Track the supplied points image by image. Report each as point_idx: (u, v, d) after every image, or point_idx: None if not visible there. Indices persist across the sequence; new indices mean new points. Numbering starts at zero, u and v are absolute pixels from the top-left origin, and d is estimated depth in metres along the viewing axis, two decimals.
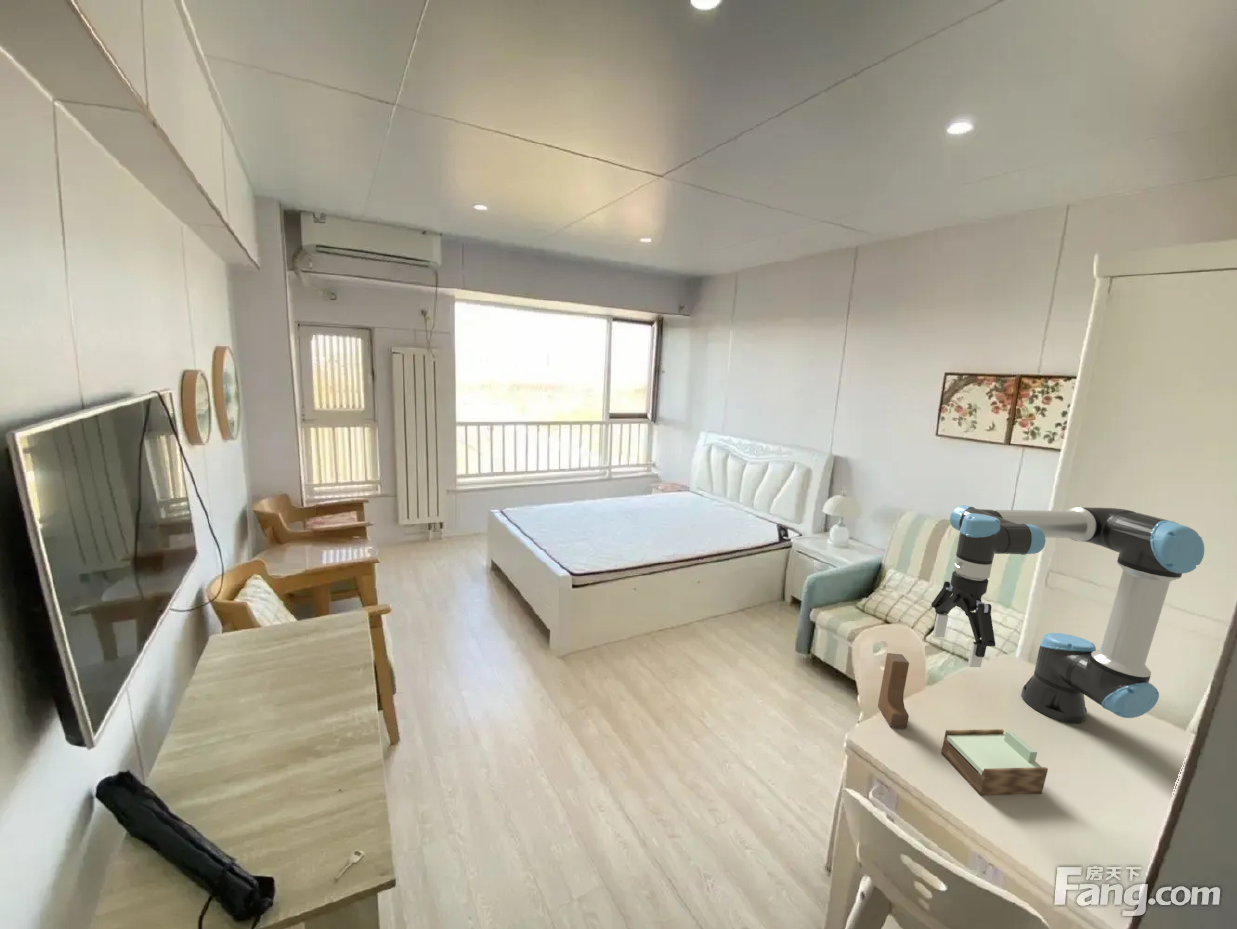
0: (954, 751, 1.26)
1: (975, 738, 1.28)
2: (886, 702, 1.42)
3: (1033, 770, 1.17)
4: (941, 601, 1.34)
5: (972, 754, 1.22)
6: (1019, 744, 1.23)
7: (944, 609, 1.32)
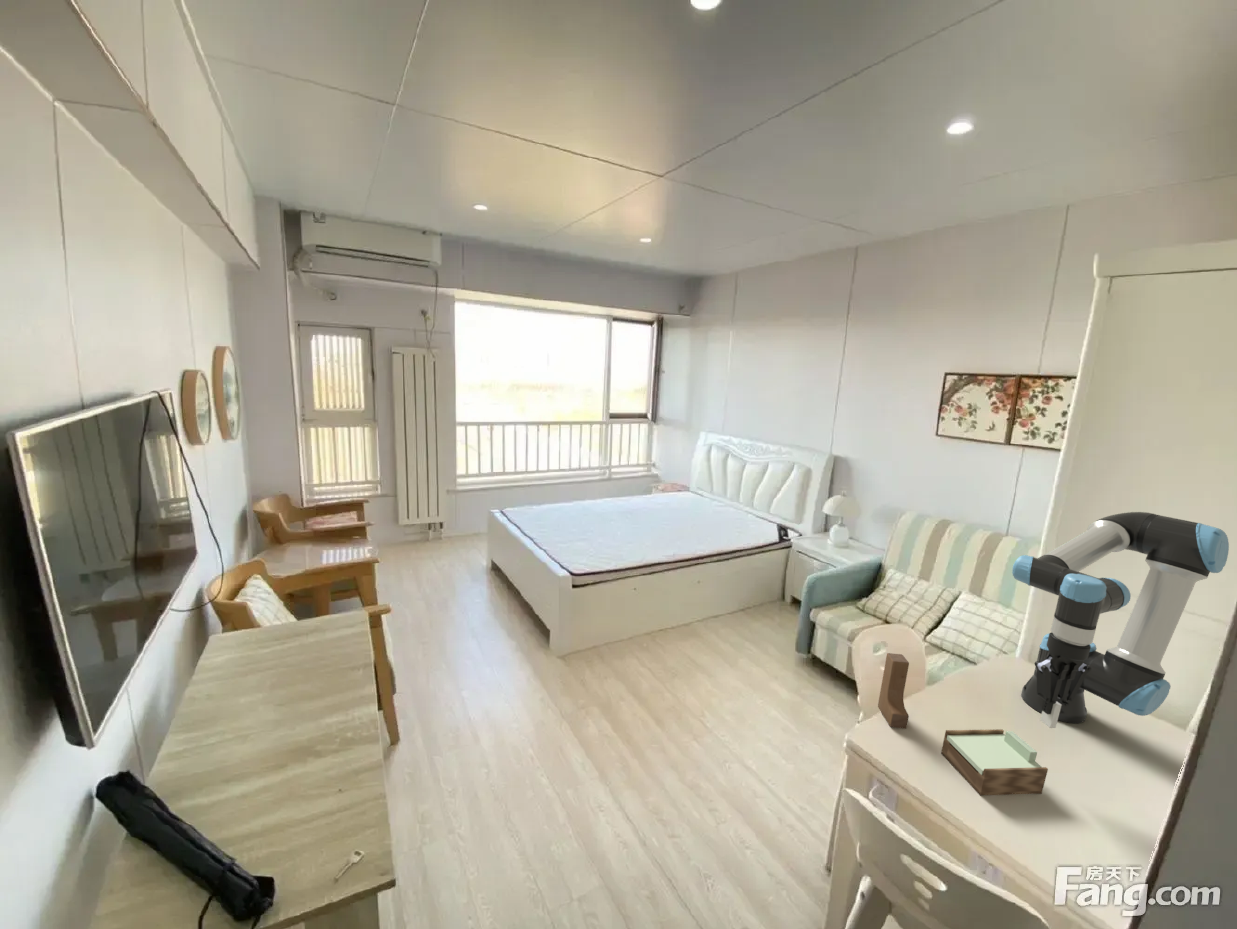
0: (954, 751, 1.26)
1: (975, 738, 1.28)
2: (886, 702, 1.42)
3: (1033, 770, 1.17)
4: None
5: (972, 754, 1.22)
6: (1019, 744, 1.23)
7: None
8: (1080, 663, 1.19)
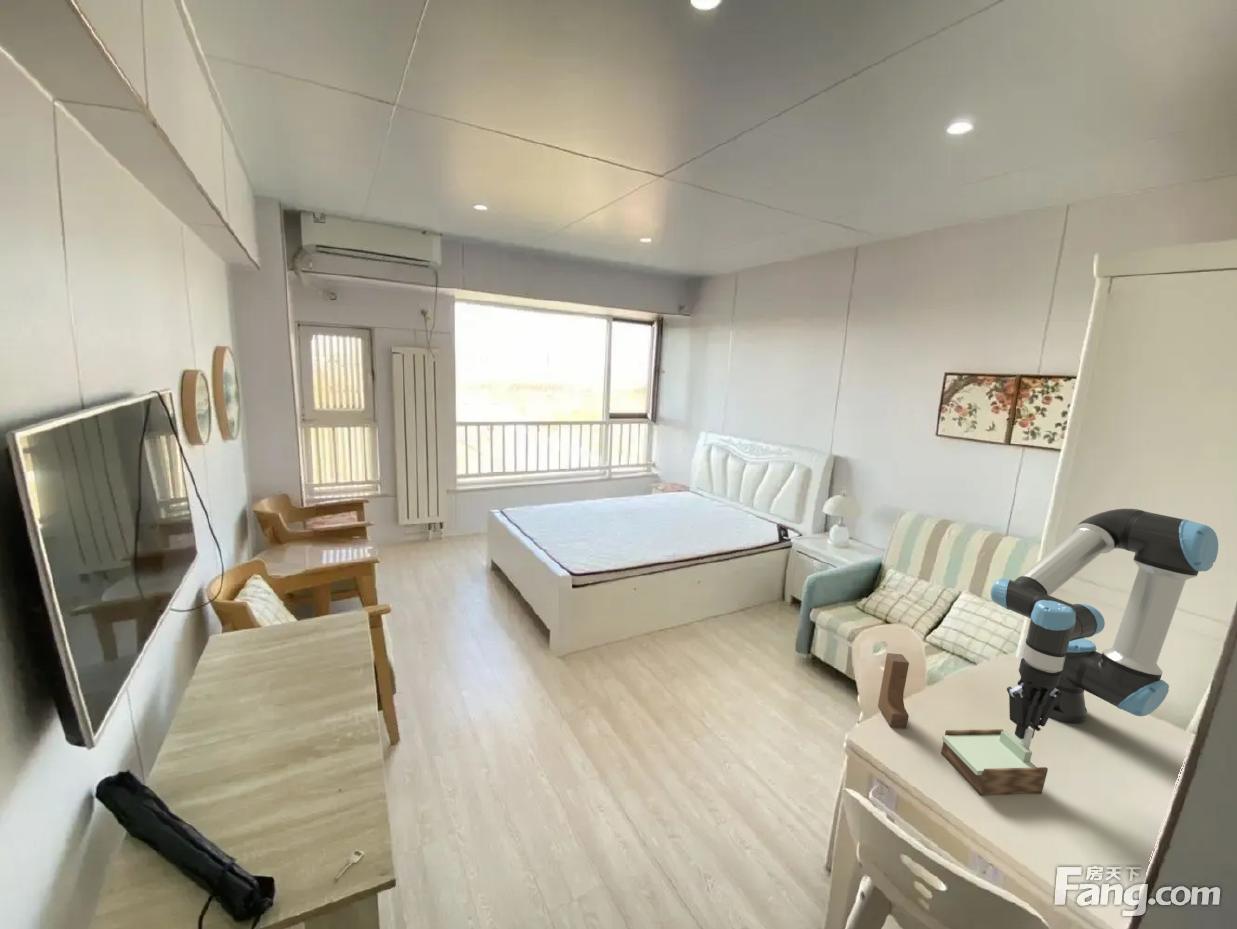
0: None
1: (970, 738, 1.27)
2: (886, 702, 1.42)
3: (1033, 770, 1.17)
4: None
5: (967, 754, 1.22)
6: (1014, 744, 1.23)
7: None
8: (1051, 689, 1.19)
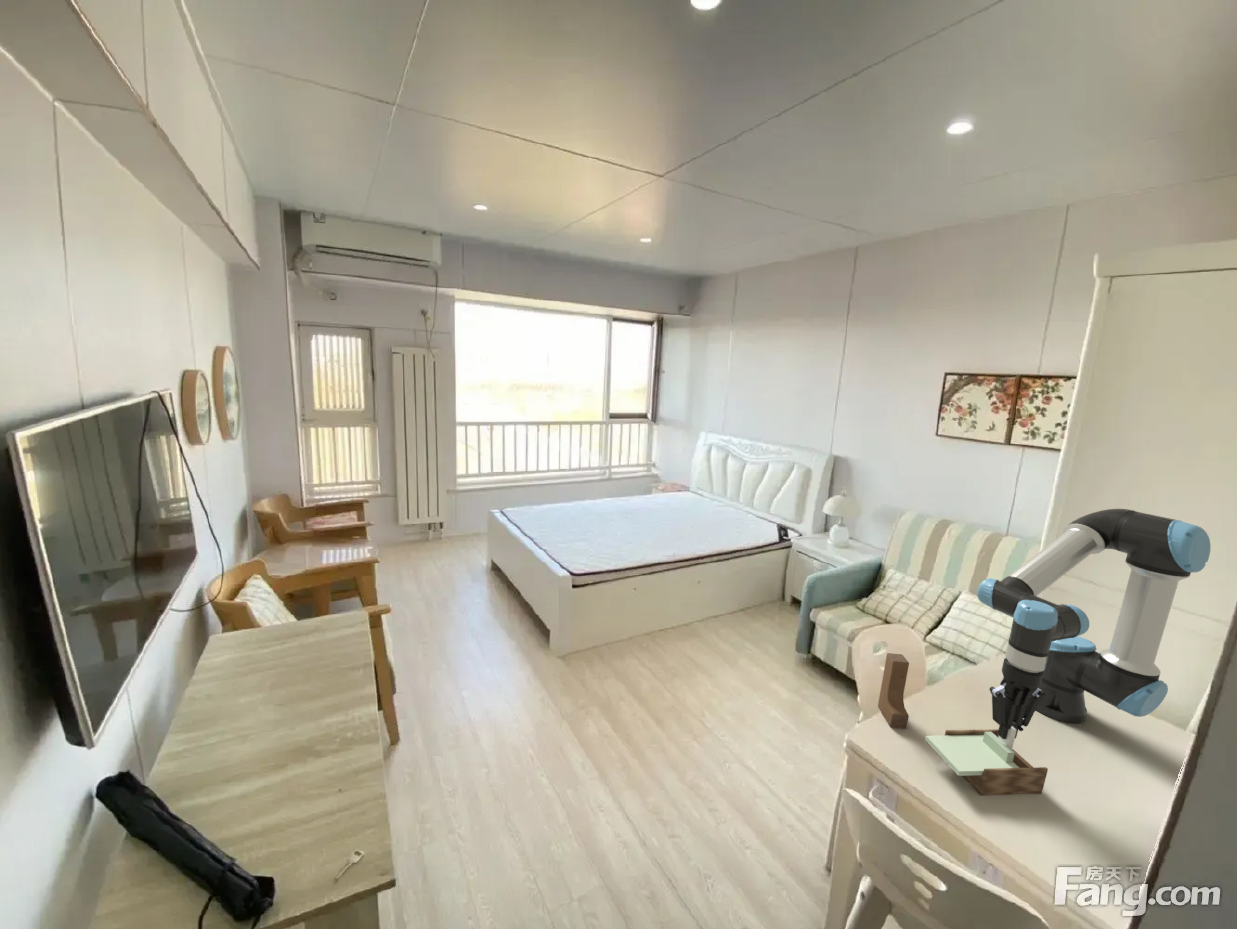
0: None
1: (954, 739, 1.27)
2: (886, 702, 1.42)
3: (1033, 770, 1.17)
4: None
5: (950, 755, 1.21)
6: (997, 745, 1.22)
7: None
8: (1034, 689, 1.19)
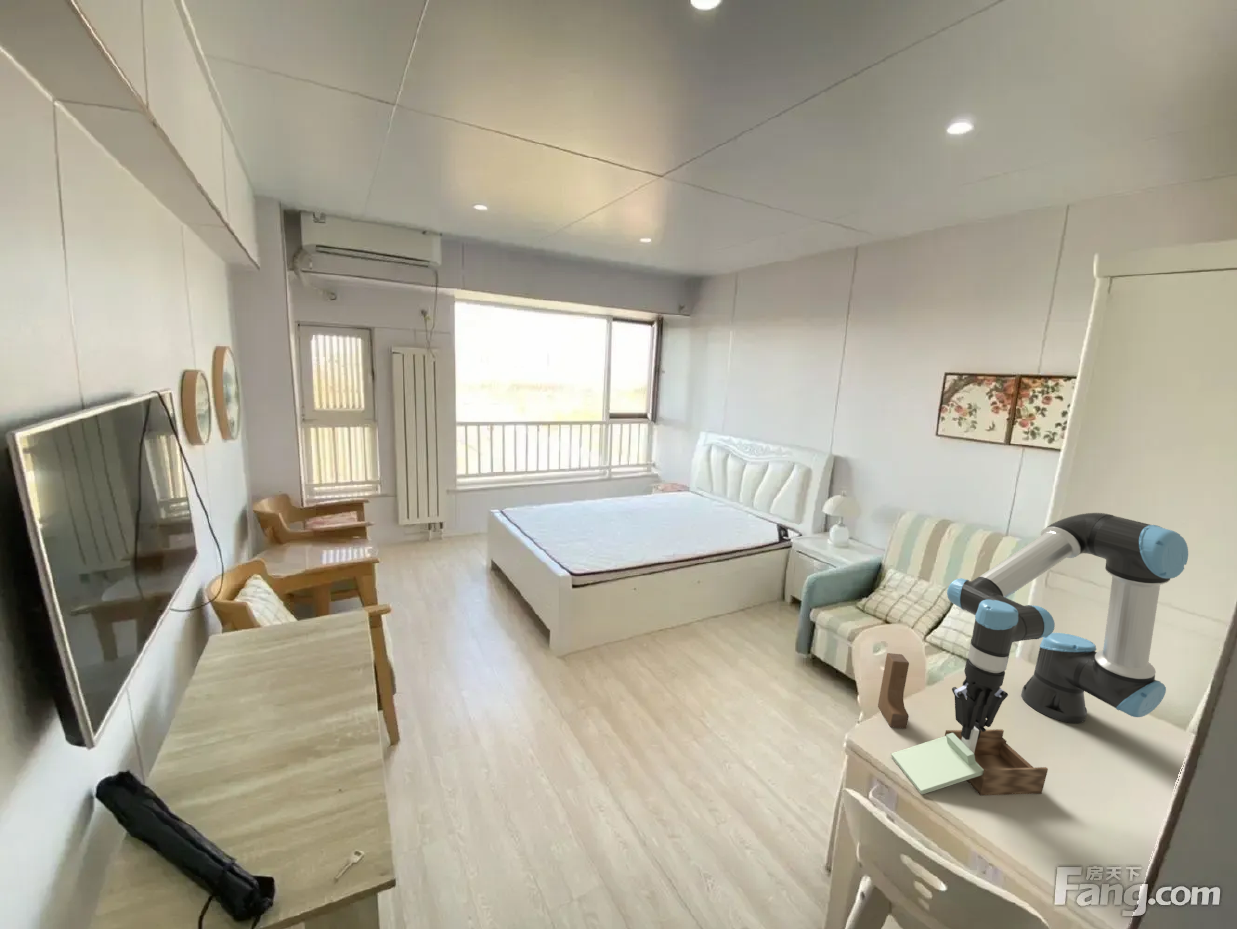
0: None
1: (918, 749, 1.27)
2: (886, 702, 1.42)
3: (1033, 770, 1.17)
4: None
5: (913, 772, 1.22)
6: (958, 748, 1.22)
7: None
8: (996, 689, 1.18)
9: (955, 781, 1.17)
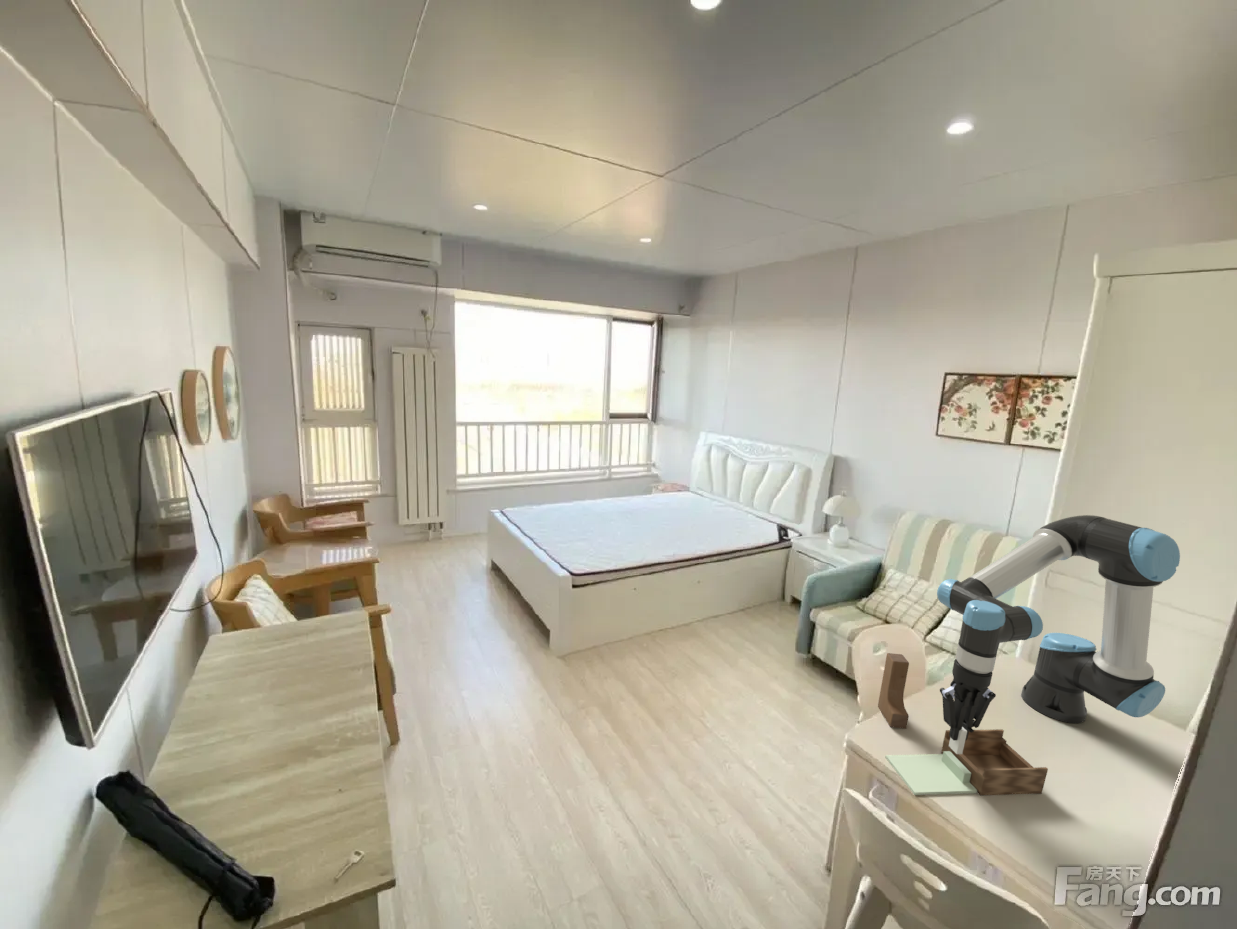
0: None
1: (913, 758, 1.27)
2: (886, 702, 1.42)
3: (1033, 770, 1.17)
4: None
5: (907, 775, 1.22)
6: (954, 765, 1.22)
7: None
8: (984, 690, 1.18)
9: (948, 793, 1.18)
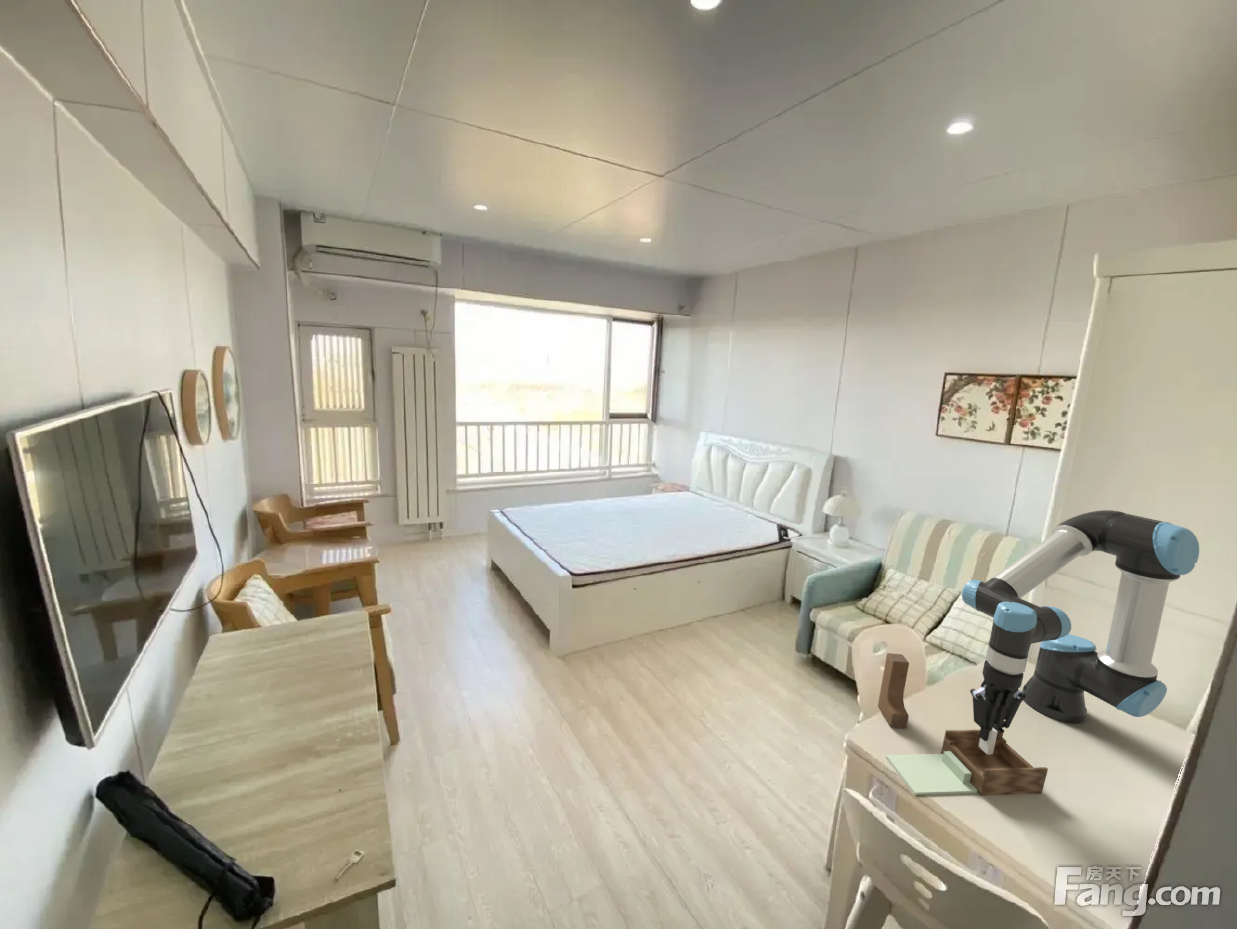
0: (954, 751, 1.26)
1: (913, 758, 1.27)
2: (886, 702, 1.42)
3: (1033, 770, 1.17)
4: None
5: (907, 775, 1.22)
6: (955, 765, 1.22)
7: None
8: (1015, 690, 1.19)
9: (948, 793, 1.18)
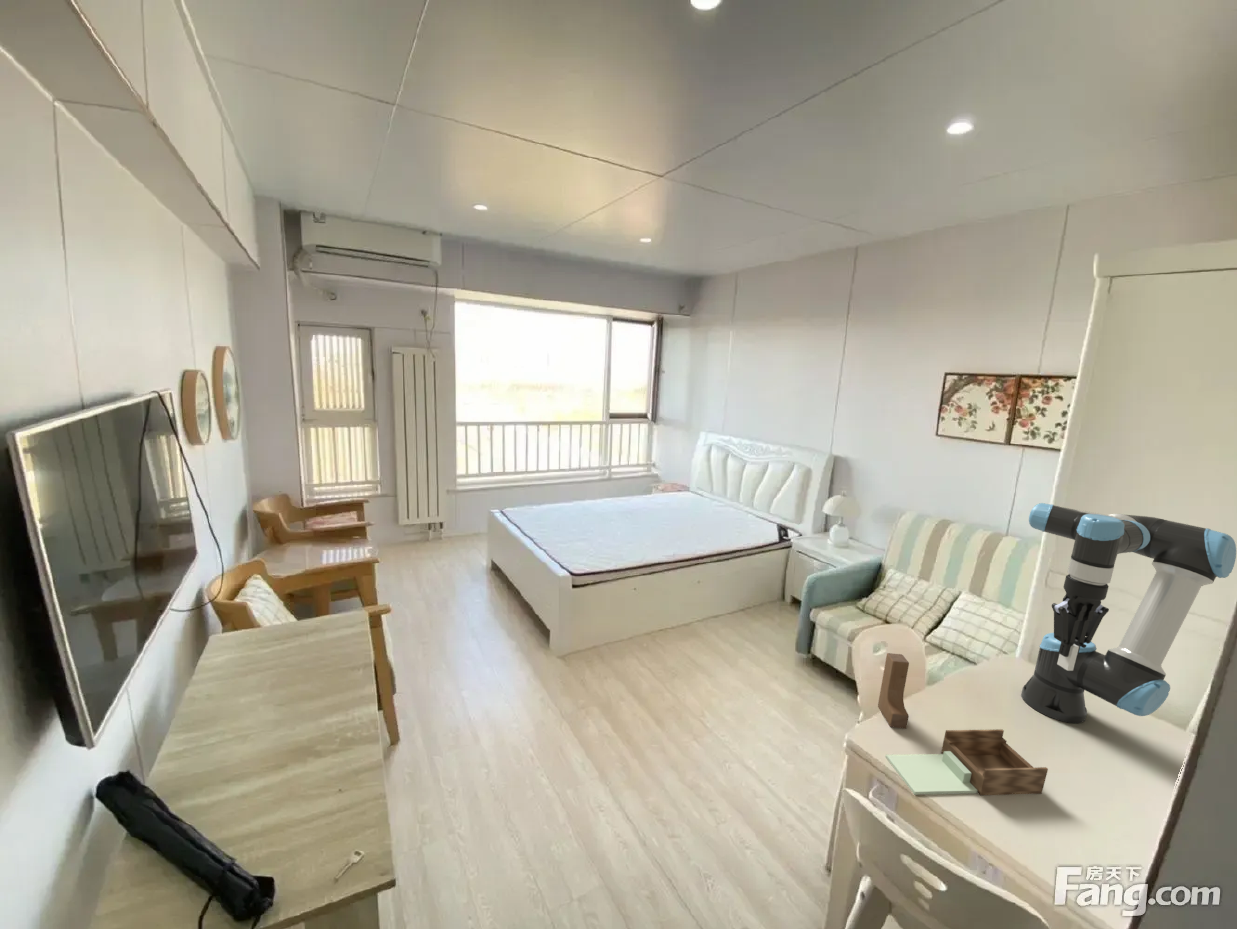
0: (954, 751, 1.26)
1: (913, 758, 1.27)
2: (886, 702, 1.42)
3: (1033, 770, 1.17)
4: None
5: (907, 775, 1.22)
6: (955, 765, 1.23)
7: None
8: (1098, 604, 1.18)
9: (948, 793, 1.18)
